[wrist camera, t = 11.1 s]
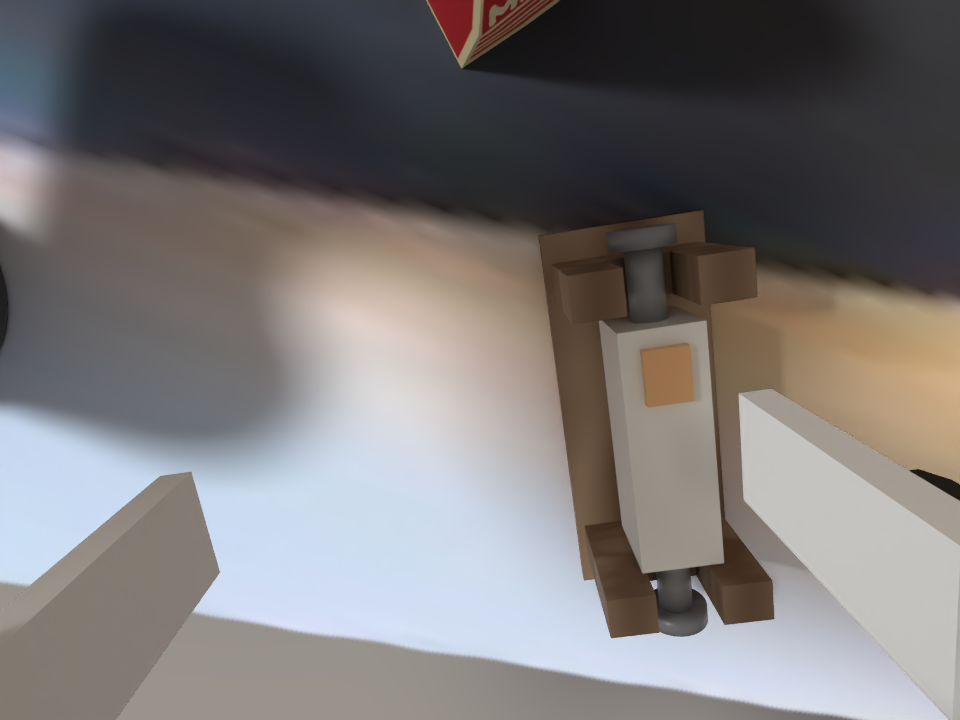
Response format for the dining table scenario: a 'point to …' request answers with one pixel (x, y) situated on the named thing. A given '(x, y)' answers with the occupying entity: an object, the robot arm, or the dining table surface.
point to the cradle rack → (584, 404)
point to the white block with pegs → (663, 431)
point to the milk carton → (483, 23)
